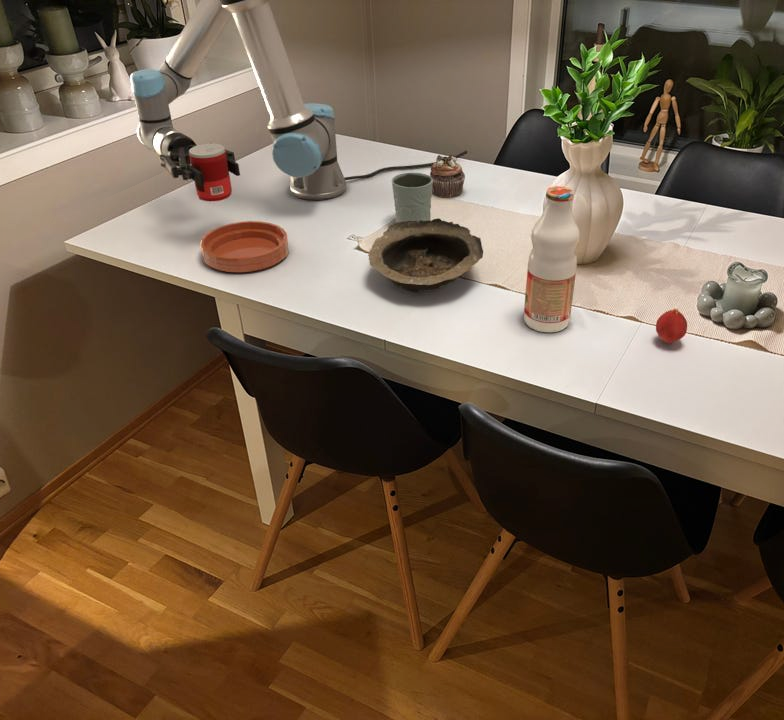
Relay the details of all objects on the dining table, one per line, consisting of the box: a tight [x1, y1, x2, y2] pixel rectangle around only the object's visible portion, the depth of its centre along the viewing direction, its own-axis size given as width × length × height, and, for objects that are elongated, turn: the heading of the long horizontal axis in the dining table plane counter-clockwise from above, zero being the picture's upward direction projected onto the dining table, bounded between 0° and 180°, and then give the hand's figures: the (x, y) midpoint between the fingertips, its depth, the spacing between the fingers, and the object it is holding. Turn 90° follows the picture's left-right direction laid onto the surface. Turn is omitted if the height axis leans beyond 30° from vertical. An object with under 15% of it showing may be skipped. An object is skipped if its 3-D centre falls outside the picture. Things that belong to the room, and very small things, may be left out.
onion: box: [655, 307, 688, 345], centre depth 141 cm, size 6×6×8 cm
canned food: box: [189, 143, 233, 202], centre depth 167 cm, size 8×8×11 cm
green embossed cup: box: [391, 172, 433, 223], centre depth 182 cm, size 10×10×12 cm
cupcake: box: [429, 154, 466, 199], centre depth 200 cm, size 10×10×10 cm
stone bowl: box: [367, 217, 484, 293], centre depth 160 cm, size 25×25×9 cm
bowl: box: [200, 220, 290, 273], centre depth 170 cm, size 19×19×4 cm
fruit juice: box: [523, 185, 581, 333], centre depth 141 cm, size 9×9×28 cm
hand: (220, 174), depth 164 cm, fingers closed on canned food, 8 cm apart
